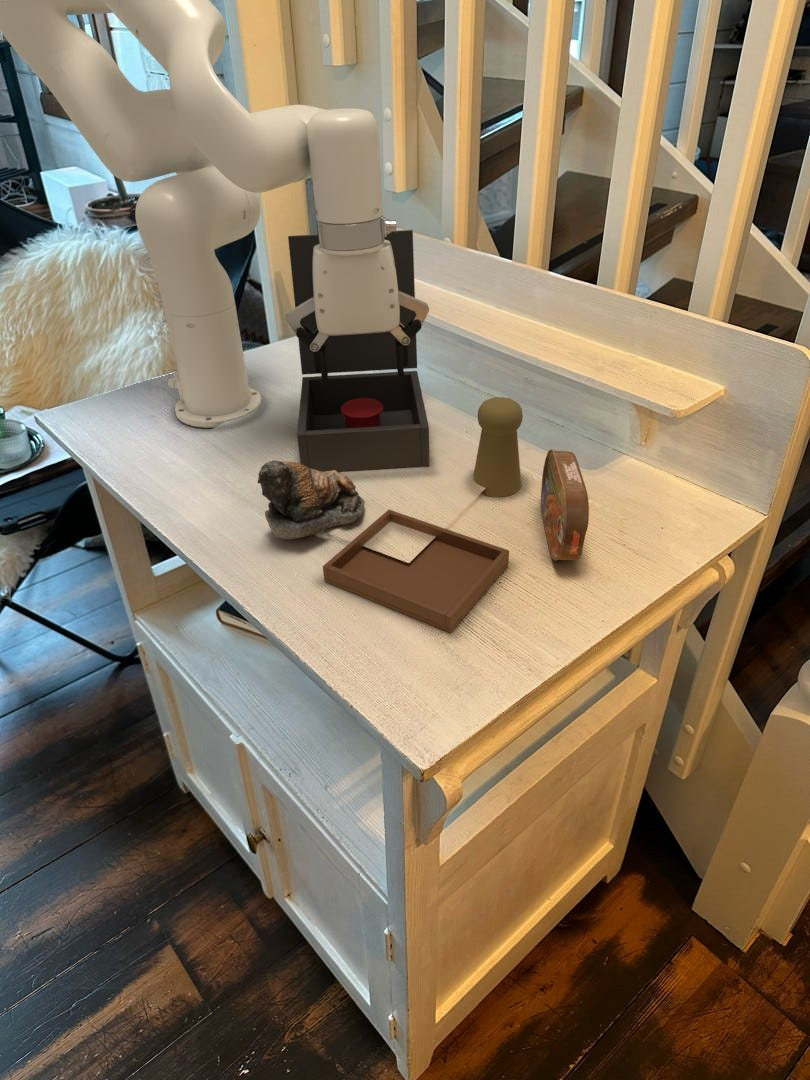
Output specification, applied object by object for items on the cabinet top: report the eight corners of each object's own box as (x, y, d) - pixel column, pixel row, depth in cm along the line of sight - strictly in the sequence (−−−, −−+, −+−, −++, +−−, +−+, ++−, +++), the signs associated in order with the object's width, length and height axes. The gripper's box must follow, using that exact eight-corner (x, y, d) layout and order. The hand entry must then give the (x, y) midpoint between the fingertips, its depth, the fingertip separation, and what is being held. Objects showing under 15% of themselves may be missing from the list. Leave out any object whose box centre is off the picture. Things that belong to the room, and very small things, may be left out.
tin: (538, 498, 90) (543, 435, 86) (564, 497, 90) (571, 435, 85) (554, 577, 78) (561, 509, 73) (585, 577, 78) (594, 509, 73)
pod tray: (324, 581, 79) (322, 566, 78) (389, 523, 87) (388, 509, 86) (450, 633, 72) (450, 617, 71) (508, 565, 80) (509, 550, 79)
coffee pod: (334, 441, 101) (332, 411, 99) (359, 424, 105) (357, 394, 102) (369, 451, 99) (367, 420, 96) (392, 434, 102) (391, 403, 100)
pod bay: (429, 473, 96) (428, 427, 92) (302, 480, 95) (297, 434, 91) (418, 412, 110) (417, 370, 106) (307, 419, 109) (302, 377, 105)
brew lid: (412, 230, 97) (409, 227, 102) (287, 236, 97) (290, 233, 102) (417, 368, 105) (414, 359, 110) (301, 374, 104) (304, 365, 109)
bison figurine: (347, 498, 92) (340, 424, 86) (378, 525, 87) (374, 448, 81) (257, 533, 86) (243, 456, 80) (285, 563, 81) (273, 484, 76)
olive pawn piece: (519, 499, 90) (525, 415, 84) (469, 494, 91) (471, 412, 85) (523, 473, 95) (529, 392, 89) (475, 469, 96) (477, 389, 90)
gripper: (423, 221, 90) (427, 358, 100) (277, 230, 89) (296, 368, 99) (429, 237, 84) (433, 382, 93) (272, 247, 83) (293, 392, 93)
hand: (362, 374), depth 96 cm, fingers open, 9 cm apart
